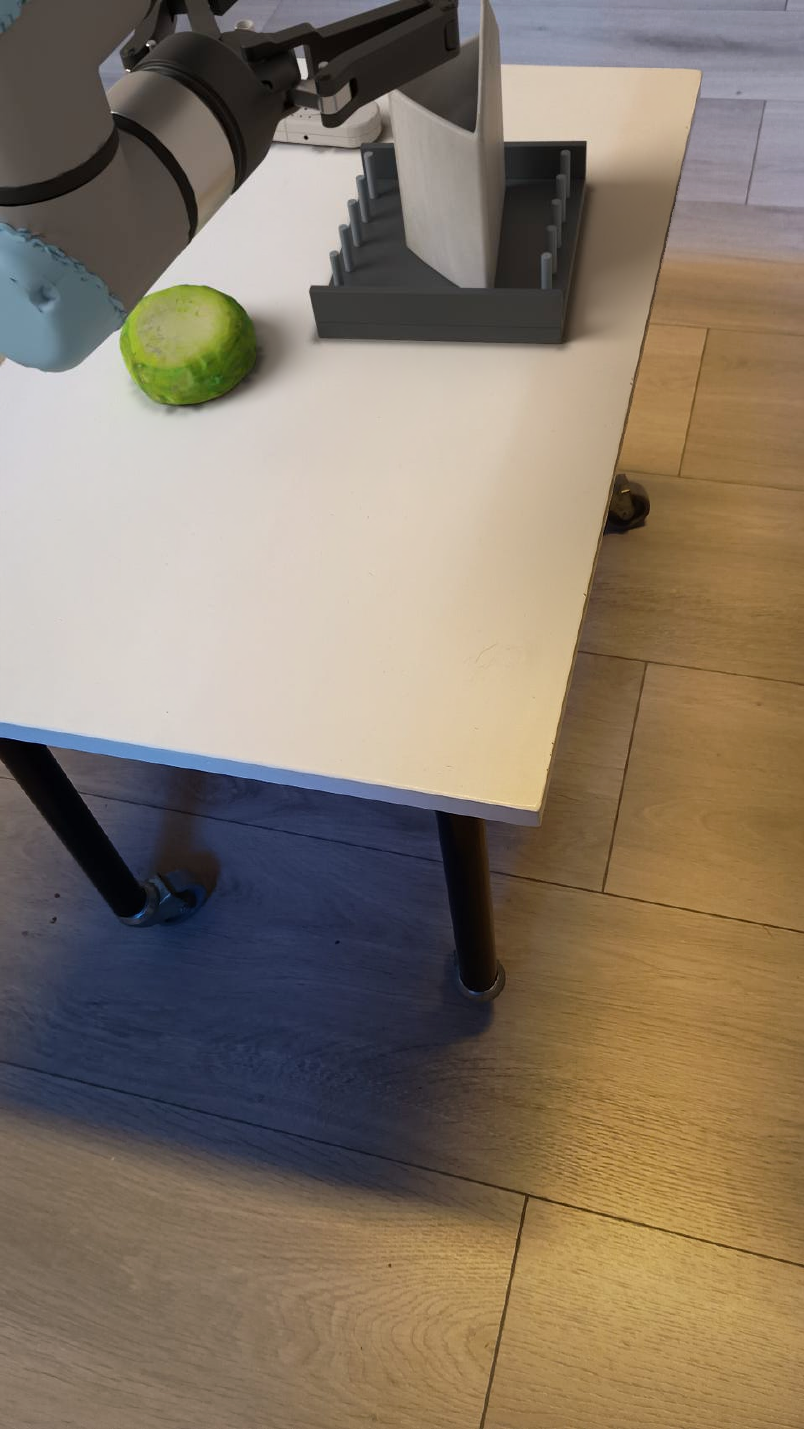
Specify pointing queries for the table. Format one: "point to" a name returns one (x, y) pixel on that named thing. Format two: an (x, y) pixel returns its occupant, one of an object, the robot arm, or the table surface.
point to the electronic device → (311, 131)
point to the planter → (454, 159)
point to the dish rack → (426, 305)
